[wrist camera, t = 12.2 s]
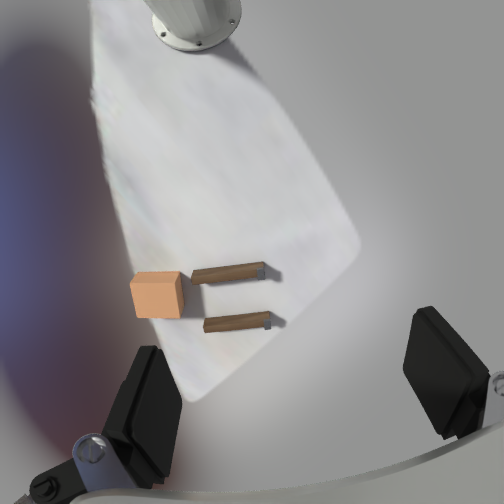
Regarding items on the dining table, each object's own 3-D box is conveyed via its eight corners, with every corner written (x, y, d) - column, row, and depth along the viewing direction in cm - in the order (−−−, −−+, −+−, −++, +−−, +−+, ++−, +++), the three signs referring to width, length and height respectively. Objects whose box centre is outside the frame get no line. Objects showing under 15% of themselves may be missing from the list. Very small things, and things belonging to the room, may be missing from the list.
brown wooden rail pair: (193, 269, 45) (189, 278, 42) (262, 260, 45) (263, 268, 42) (206, 325, 49) (204, 336, 46) (269, 318, 48) (271, 329, 46)
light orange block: (137, 271, 45) (129, 283, 42) (179, 271, 45) (174, 282, 42) (144, 304, 47) (137, 317, 44) (184, 304, 48) (180, 318, 44)
